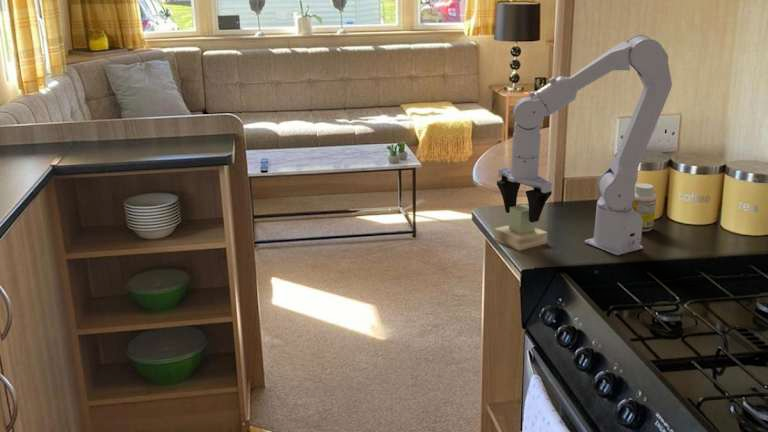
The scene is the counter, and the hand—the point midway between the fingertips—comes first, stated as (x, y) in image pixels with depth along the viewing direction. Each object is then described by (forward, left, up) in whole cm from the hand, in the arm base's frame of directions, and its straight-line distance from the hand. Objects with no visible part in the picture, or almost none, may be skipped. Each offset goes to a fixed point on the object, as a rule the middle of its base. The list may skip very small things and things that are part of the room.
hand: (521, 216), depth 171 cm
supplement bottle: (-8, -29, -6) cm, 31 cm away
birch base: (0, 0, -6) cm, 6 cm away
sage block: (0, 0, -3) cm, 3 cm away
